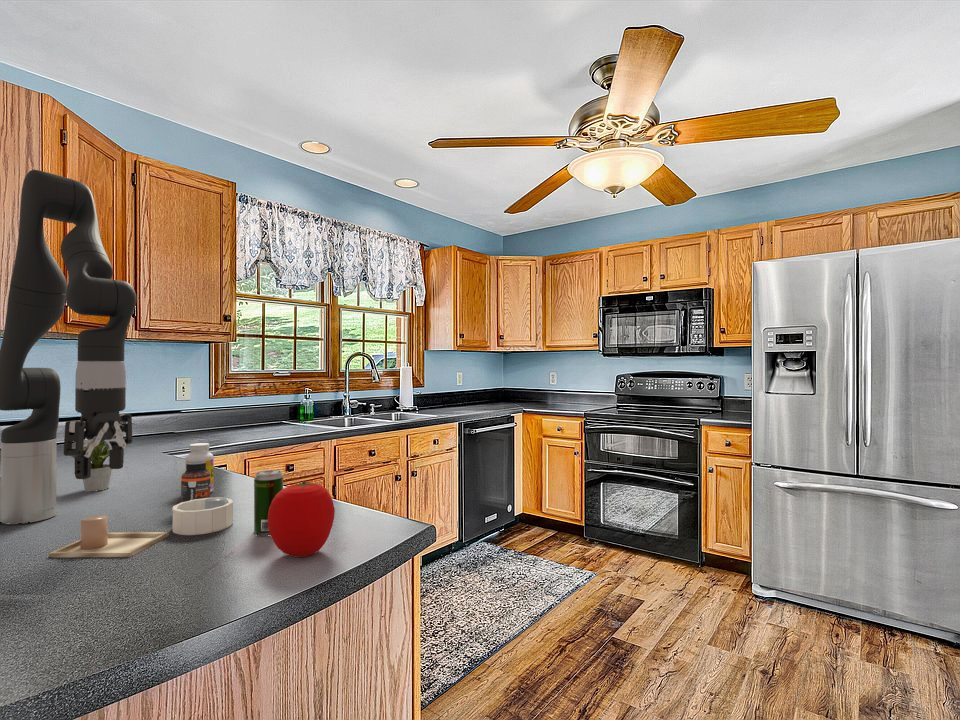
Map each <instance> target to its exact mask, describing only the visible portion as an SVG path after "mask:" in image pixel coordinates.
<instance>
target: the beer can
mask: <svg viewBox="0 0 960 720" xmlns="http://www.w3.org/2000/svg"><path fill="white" fill-rule="evenodd" d="M253 487H254V488H253V501H254V502H253V515H254V516H253V517H254V518H253V531H254V534H255V535H256V536H258V535H259V536H258V537H269V536H268V535H270V533H269V528H268V513H269V508H270V505H271V503H272V500H273V499H274V497H275V496H276V495H277V494H278V493H279V492H280V491H281V490H282V489H284V475H283V471H282V470H280V469H279V470H278V469H267V470H261V471H257V472H255V476H254V479H253Z"/></svg>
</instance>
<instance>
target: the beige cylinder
mask: <svg viewBox="0 0 960 720" xmlns="http://www.w3.org/2000/svg"><path fill="white" fill-rule="evenodd" d="M108 518H109V517H108V515H94V516H88V517H85V518H82V519H81V520H80V529H79V530H80V539H79V540H80V549H82V550H92V549H97V548H101V547H104V546H106V545H107V544H108V533H109V525H108V524H109V522H108V521H109V519H108Z"/></svg>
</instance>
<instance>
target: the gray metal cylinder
mask: <svg viewBox="0 0 960 720" xmlns="http://www.w3.org/2000/svg"><path fill="white" fill-rule="evenodd" d="M227 498H228V497H226V496H225V497H223V496H215V497H210V498H209V499H206V500H205V509H212V508H216V507H220V506H223V505H225V504H227Z"/></svg>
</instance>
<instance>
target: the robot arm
mask: <svg viewBox="0 0 960 720" xmlns="http://www.w3.org/2000/svg"><path fill="white" fill-rule="evenodd" d="M19 208H20V210H19V220H18V221H19V222H18V223H19V224H18V235H17V236H18V237H17V245H16V252H15V257H14V264H13V269H12V274H11V279H10V285H9V291H8V298H7V306H6V316H5V322H4V328H3V336H2V340H1V344H0V411H25V410H27V411H28V410H32V411H31V414H30V416H28V417H27V418H25V419H24V420H22V421H20V422H19V423H16V424H13V425H10V426H8V427H7V426H6V427H5V428H4V429H3V430H2V431H1V433H0V441H1V442H0V522H2V523H10V524H9V525H19V524H18V523H22V524H28V522H30V523H35V522H40V521H43V520H47V519H50V518H53V517H55V516H56V515H57V437H58V436H57V431H58V428H59V420H60V403H61V389H62V388H61V379H60V376H59V373H58V372H57V371H56V370H55V369H53V368H51V367H24V364H25V362H26V359H27V357H28V354H29V352H30V351H31V349H32V348H33V347H34V346H35V344H37V342H38V341H39V340H40V339H41V338H43V336H44V335H45V334H46V333H48V331H50V330H51V329H52V328H53V327H54V326H55V325H56V324H57V322H58V321H59V320H60V319H61V317H62V315H63V313H64V310H65V304H66V305H67V306H68V307H69V309H70V310H72V312H74V313H76V314H79V315H82V316H92V317H107V318H108V317H109V320H108V321H107V323H106V325H104V326H102V327H96V328H95V327H94V328H87V329H84V330H81V331H80V332H79V333H78V336H77V365H76V369H75V391H74V392H75V393H74V395H75V401H74V402H75V403H74V407H75V408H74V410H75V412H77V413H80V414H81V416H80V420H68V421H65V425H64V441H63V455H64V456H65V457H71V458H73V459H74V477H75V479H77V480H83V479H87V478H90V476H91V463H92V462H91V457H89V456H90V455H91V453H92V451H93V449H94V447H96V446H98V444H99V442H101V441H105V442H106V444H108V445H109V449H108V450H109V456H108V458H109V459H108V464H109V468H110V469H112V470H119V469H123V467H124V461H125V459H124V456H125V455H124V454H125V450H126V448H127V446H128V445H131V444H132V443H133V418H132V415H133V414H131V413H120V412H122V411H125V410H126V404H127V403H126V402H127V401H126V395H127V394H126V389H127V388H126V387H127V385H126V384H127V378H126V377H127V375H126V373H127V371H126V366H125V344H126V343H125V342H126V337H127V332H128V328H129V326H130V325H129V324H130V322H131V319H132V316H133V313H134V311H135V308H136V304H137V294H136V290H135V289H134V287H133V286H132V284H130V283H129V282H127V281H125V280H119V279H113V274H114V269H113V266H112V263H111V261H110V259H109V256H108V254H107V251H106V250H105V248H104V245H103V242H102V238H101V234H100V232H101V231H100V227H99V220H98V215H97V210H96V205H95V199H94V196H93V194H92V191H91V189H90V187H88V186H87V184H85V183H83V182H81V181H79V180H75V179H73V178H69V177H65V176H61V175H59V174H55V173H51V172H47V171H42V170H38V169H32V170H31V169H30V170H29V171H28V172H27V173H26V175H25V176H24V179H23V182H22V187H21V195H20V207H19ZM44 219H48V220H52V221H58V222H61V223H62V222H63V223H67V224H73V225H75V226H74V227H73V228H72V229H71V230H69V231H68V233H66V234H65V236H64V237H63V239H62V241H61V244H60V255H61V258H62V260H63V263H64V267H65V268H66V272H67V279H66V276H65V274H64V273H63V271H62V269H61V268H60V266H59V264H58V262H57V261H56V259H55V258H54V256H53V253H52V252H51V250H50V248H49V245H48V244H47V241H46V237H45V232H44ZM124 433H125V434H124ZM74 442H75V446H74V448H73V443H74ZM83 447H86V449H85V450H83ZM110 449H111V450H110ZM2 523H1V524H2Z"/></svg>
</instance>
